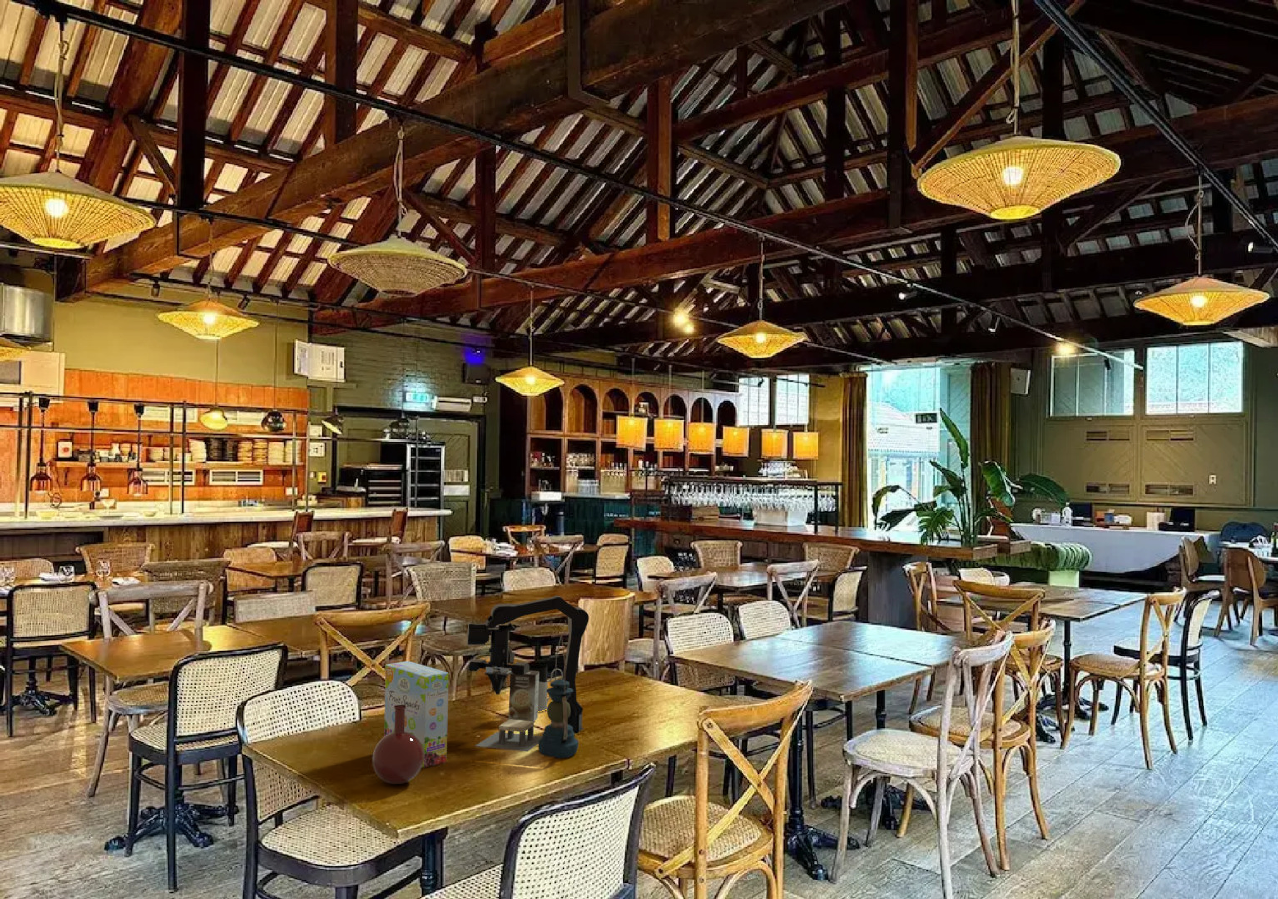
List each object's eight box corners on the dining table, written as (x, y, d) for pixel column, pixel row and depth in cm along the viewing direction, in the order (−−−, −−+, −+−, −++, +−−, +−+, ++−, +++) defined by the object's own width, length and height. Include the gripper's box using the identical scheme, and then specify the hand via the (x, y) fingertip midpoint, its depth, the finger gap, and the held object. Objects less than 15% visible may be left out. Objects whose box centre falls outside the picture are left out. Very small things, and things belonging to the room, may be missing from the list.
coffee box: (507, 721, 293) (508, 673, 293) (512, 716, 299) (513, 669, 300) (534, 723, 292) (535, 674, 292) (538, 718, 298) (539, 670, 299)
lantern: (532, 748, 264) (535, 631, 265) (570, 744, 268) (573, 629, 270) (544, 762, 251) (547, 639, 252) (584, 758, 255) (586, 637, 256)
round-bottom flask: (416, 772, 240) (418, 698, 240) (429, 787, 228) (431, 709, 229) (367, 779, 233) (369, 703, 234) (377, 794, 222) (380, 714, 223)
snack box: (380, 752, 257) (383, 663, 258) (406, 746, 263) (409, 660, 264) (422, 769, 242) (425, 675, 243) (448, 762, 249) (451, 671, 250)
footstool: (509, 737, 273) (533, 739, 271) (498, 744, 265) (523, 746, 263) (509, 719, 273) (533, 721, 271) (499, 725, 266) (523, 728, 263)
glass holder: (520, 707, 312) (521, 665, 312) (557, 704, 318) (558, 662, 318) (527, 713, 304) (528, 670, 304) (566, 710, 310) (567, 667, 310)
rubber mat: (547, 738, 274) (547, 736, 274) (527, 753, 259) (527, 751, 259) (496, 733, 278) (497, 731, 278) (474, 747, 263) (475, 746, 263)
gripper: (535, 642, 283) (534, 691, 283) (482, 638, 288) (480, 686, 287) (524, 648, 273) (522, 698, 272) (468, 644, 277) (466, 694, 276)
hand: (497, 694), depth 277 cm, fingers closed
